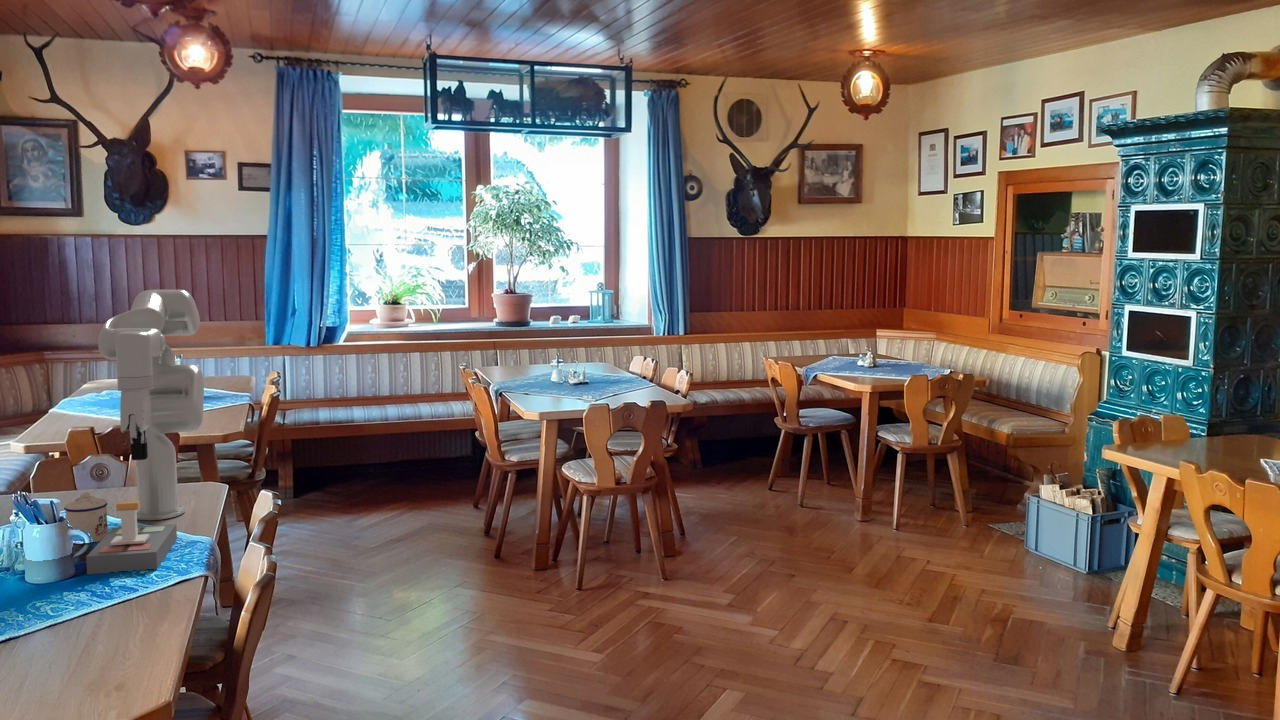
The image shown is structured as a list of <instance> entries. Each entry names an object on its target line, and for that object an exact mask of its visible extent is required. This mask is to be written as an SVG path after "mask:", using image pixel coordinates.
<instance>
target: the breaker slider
mask: <svg viewBox="0 0 1280 720" xmlns="http://www.w3.org/2000/svg"><path fill="white" fill-rule="evenodd" d="M115 505H116V506H115V507H116V512H120V524H121V526H120V528H122V536H116V537H115V538H114V539H113V540H112V541H111V542H110V545H123V544H138V543H145V542H146V541H147V539H148V538H149V537H150V534H142V535H138V529H137V526H138V519H137V511H136V510H138V509H139V508H140V501H138V500H132V501H131V500H130V501H129V500H128V501H118V502H117V503H116V504H115Z"/></svg>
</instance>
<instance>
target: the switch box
mask: <svg viewBox="0 0 1280 720" xmlns="http://www.w3.org/2000/svg"><path fill="white" fill-rule="evenodd" d="M137 529H138V535H142V534H150V537H149V538H148V539H147V541H146V542H145V543H138V544H123V545H110V542H111V541H112V540H113V539H114V538H115V537H116V536H122V528H121V527H112V528H111V529H110V530H109V531H108V534H107V535H106V536H105V537H104V538H103V539H102V540H101V541H99V542H97V545H95V546H94V548H93V549H92V550H91V551H90V552H89V553H88V554H87V555H86V557H85V560H86V561H85V563H86V575H97V574H99V575H100V574H111V573H110V572H114V573H119V572H118V571H128V572H134V571H133V570H141V571H148V570H147V569H154V570H158V569H159V567H160V566H161V564H162V563H163V561H164V560H165V558H166V557H167V556H166V555H168V554H169V553H168V552H170V551H171V550H170V549H172V548H173V547H172V545H173V544H174V542H175V541H176V539H177V540H178V533H177V532H178V531H177V523H172V524H171V523H170V524H169V523H168V524H159V525H158V524H156V525H137ZM176 542H177V541H176ZM176 542H175V543H176ZM174 545H175V544H174ZM174 545H173V546H174ZM171 547H172V548H171ZM169 550H170V551H169ZM167 553H168V554H167ZM165 556H166V557H165ZM163 559H164V560H163ZM161 562H162V563H161ZM159 565H160V566H159ZM157 568H158V569H157ZM130 570H132V571H130Z"/></svg>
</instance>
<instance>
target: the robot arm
mask: <svg viewBox="0 0 1280 720" xmlns="http://www.w3.org/2000/svg"><path fill="white" fill-rule="evenodd" d="M200 320H201V318H200V313H199V311H198V307H197V305H196V301H195V300H194V298H193V296H192V294H191V293H189V291H188V290H187V291H186V290H184V289H147V290H143V291H141V292H139V293H138V294H137V295H136V296H135V298H134V300H133V303H132V306H131V307H130V310H128V311H127V310H126V311H125V312H122V313H119V314H118V315H115V316H113V317H110V318H109V319H108V320H106V321H105V322H104V323H103V325H102V328H101V330H100V332H99V335H98V339H97V340H98V341H97V346H98V348H97V349H98V351H99V354H100V355H101V356H102V357H103V358H105V359H107V360H115V362H116V364H115V365H116V375H117V378H116V379H117V381H116V382H117V391H118V392H120V403H119V404H120V408H119V411H120V412H119V414H120V417H119V419H120V426H119V427H120V432H121V433H122V434H125V433H127V432H128V431H129V438H130V440H129V441H130V453H131V460H132V461H135V468H136V469H135V470H136V486H137V487H136V489H137V501H140V508H139V509H138V510H136V511H137V521H160V520H167V519H172V518H174V517H178V516H181V515H183V514H184V513H185V512H186V507H185V506H184V505H182V504H180V503H179V494H178V493H179V492H178V472H177V453H176V447H175V445H174V444H173V441H171V440H170V439H169V438H168V437H167V435H165V434H169V433H189V432H194V431H197V430H199V429H200V428H201V427H202V424H203V421H204V404H205V403H204V398H205V397H204V396H205V395H204V393H205V392H204V391H205V380H204V375H203V372H202V369H200V367H199V366H197V365H194V364H176V353H175V352H174V351H173V349H172V348H171V347H170V346H169V345H167V343H166V338H165V337H186V336H189V337H190V336H194V335H195V334H197V333H198V331H199V329H200V324H201V321H200Z"/></svg>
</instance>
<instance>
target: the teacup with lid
mask: <svg viewBox="0 0 1280 720" xmlns="http://www.w3.org/2000/svg"><path fill="white" fill-rule="evenodd" d="M107 505H108V502H107V501H106V500H105V499H104V498H100V497H99V498H98V497H96V496H92V495H91V493H90V492H88V491H87V492H86V491H85V492H81V493H80V496H79V497H77V498H75V499H74V500H73V501H69V502H67V503H66V504H65V505H64V511H65V520H66V519H67V520H68V521H69V523H70V525H71V526H72V528H74V529H80V530H83V531H85V532H87V533H89V534H90V536H91V537H92V539H93V542H94V543H93V544H95V542H96V543H99V542H100V541H101V540H102V539H103V538H104V537H105V536H106V535H107V534H108V533H109V527H108V510H107Z"/></svg>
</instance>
